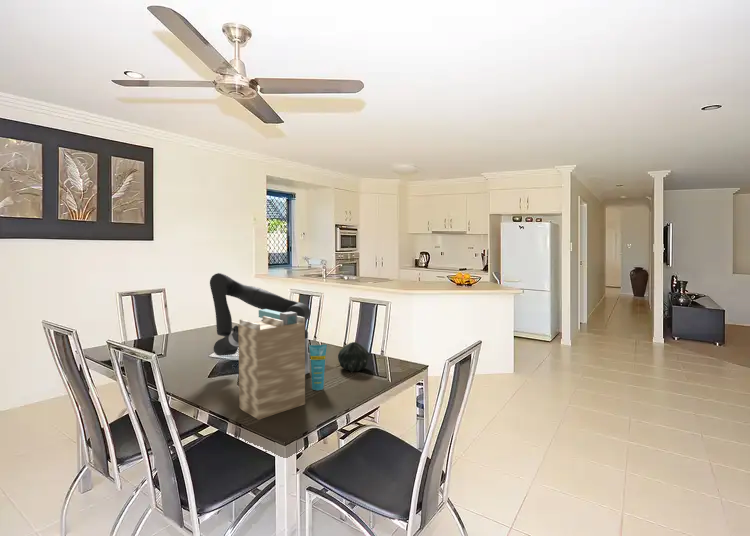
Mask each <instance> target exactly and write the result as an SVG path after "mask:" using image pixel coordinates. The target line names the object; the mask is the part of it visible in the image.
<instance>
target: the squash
mask: <svg viewBox="0 0 750 536" xmlns="http://www.w3.org/2000/svg"><path fill="white" fill-rule="evenodd" d="M337 358H338V359H337V360H338V364H339V366H340V367H341V368H342V369H344V370H346V371H349V372H354V371H355V372H356V371H357V372H359V371H362V370H364V369H365V368H366V367H367V365H368V363H369V362H368V361H369V353H368V350H367V349H366V348H365V347H364V346H363V345H361V344H360V343H358V342H357V341H352V342H349V343H347V344H346V345H345V346H343V347H341V349H340V350H339V352H338V355H337Z"/></svg>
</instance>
